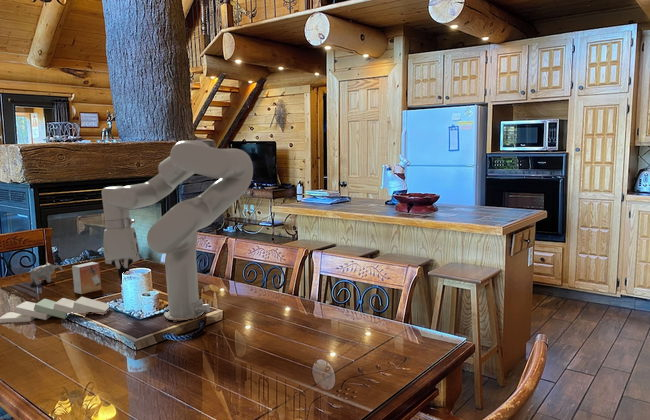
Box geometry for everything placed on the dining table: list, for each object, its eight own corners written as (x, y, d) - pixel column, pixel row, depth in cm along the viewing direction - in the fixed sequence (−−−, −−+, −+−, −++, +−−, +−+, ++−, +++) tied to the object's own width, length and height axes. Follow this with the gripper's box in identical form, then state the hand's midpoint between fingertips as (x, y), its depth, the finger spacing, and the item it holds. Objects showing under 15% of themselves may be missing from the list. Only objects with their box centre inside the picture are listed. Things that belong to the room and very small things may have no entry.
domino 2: (56, 308, 163) (26, 301, 162) (46, 314, 157) (15, 306, 156) (55, 313, 163) (25, 306, 163) (45, 319, 157) (14, 312, 157)
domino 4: (93, 306, 164) (62, 297, 163) (86, 312, 158) (54, 303, 157) (91, 311, 164) (61, 303, 163) (84, 317, 158) (53, 309, 157)
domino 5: (111, 304, 165) (81, 296, 164) (105, 310, 159) (74, 302, 158) (110, 310, 165) (80, 302, 164) (103, 316, 159) (72, 308, 158)
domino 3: (74, 307, 163) (44, 298, 162) (66, 313, 157) (35, 304, 156) (73, 312, 164) (43, 304, 163) (64, 319, 158) (33, 310, 157)
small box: (81, 294, 184) (78, 267, 183) (74, 292, 187) (71, 265, 186) (102, 289, 190) (99, 263, 189) (94, 287, 194) (92, 261, 192)
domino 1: (39, 310, 162) (8, 312, 162) (30, 317, 156) (-3, 318, 156) (40, 316, 163) (8, 318, 162) (30, 323, 157) (-2, 324, 156)
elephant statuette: (26, 285, 202) (23, 267, 200) (53, 276, 212) (50, 259, 211) (40, 287, 198) (37, 269, 196) (67, 278, 208) (64, 260, 207)
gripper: (144, 220, 163) (150, 274, 166) (98, 224, 162) (104, 278, 164) (139, 224, 156) (145, 280, 158) (90, 228, 154) (97, 284, 157)
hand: (124, 279), depth 161 cm, fingers closed
